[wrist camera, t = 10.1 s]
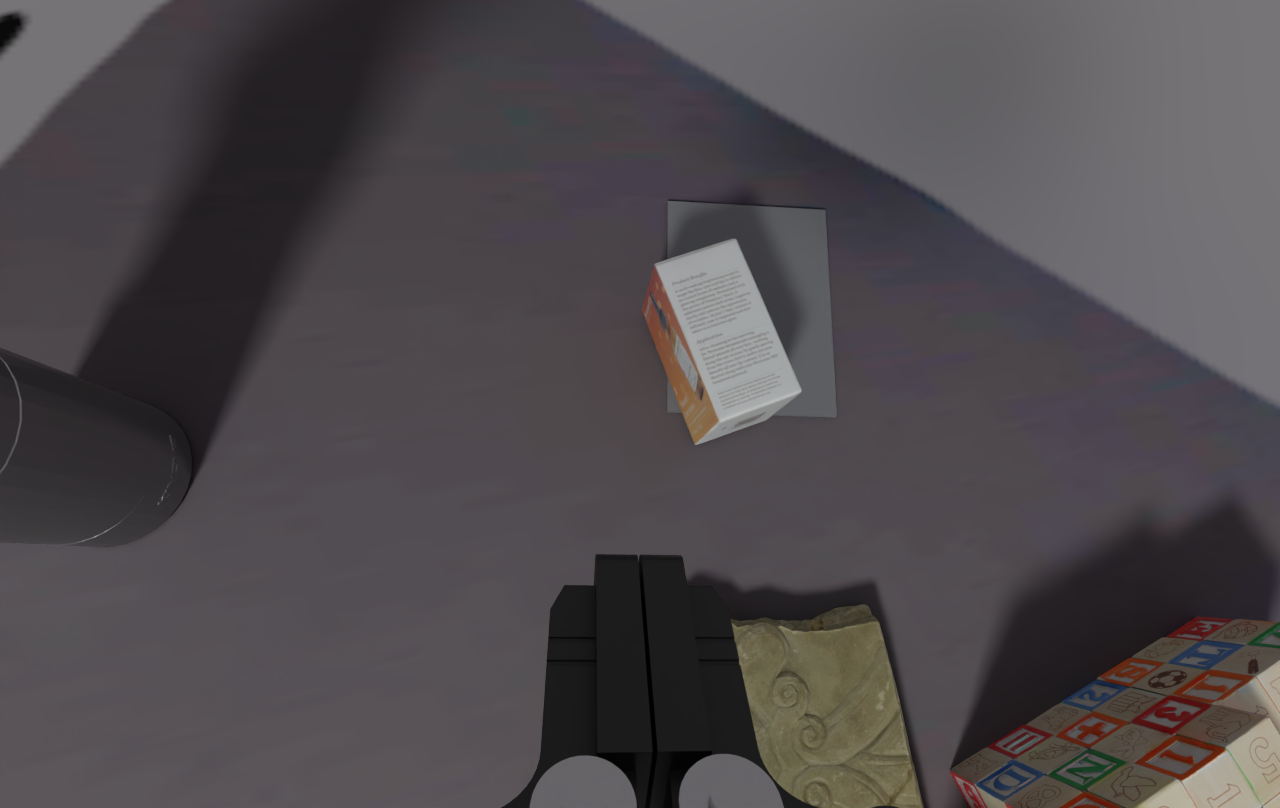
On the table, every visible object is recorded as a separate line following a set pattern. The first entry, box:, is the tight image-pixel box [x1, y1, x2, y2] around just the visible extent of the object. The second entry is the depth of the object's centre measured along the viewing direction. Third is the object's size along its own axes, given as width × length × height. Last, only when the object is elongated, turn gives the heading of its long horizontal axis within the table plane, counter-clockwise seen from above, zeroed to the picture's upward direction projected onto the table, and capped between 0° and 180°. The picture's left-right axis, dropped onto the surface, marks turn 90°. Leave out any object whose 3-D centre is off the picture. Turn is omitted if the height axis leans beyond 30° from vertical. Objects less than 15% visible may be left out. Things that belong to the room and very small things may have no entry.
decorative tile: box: [731, 604, 924, 808], centre depth 42 cm, size 19×20×4 cm
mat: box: [667, 201, 837, 418], centre depth 50 cm, size 12×16×1 cm
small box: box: [642, 239, 802, 445], centre depth 45 cm, size 8×6×10 cm
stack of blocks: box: [950, 617, 1280, 808], centre depth 40 cm, size 21×6×12 cm, turn 117°
